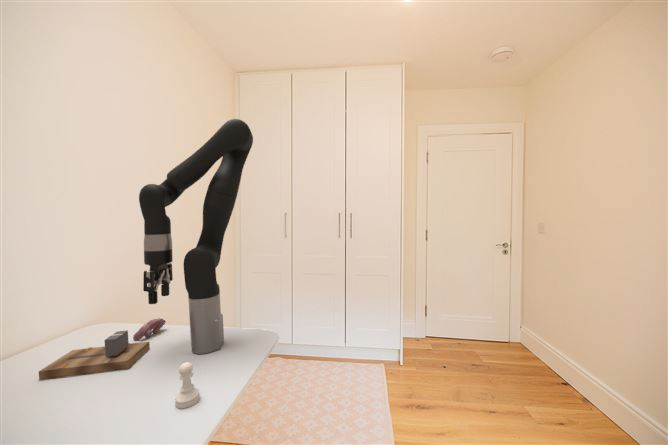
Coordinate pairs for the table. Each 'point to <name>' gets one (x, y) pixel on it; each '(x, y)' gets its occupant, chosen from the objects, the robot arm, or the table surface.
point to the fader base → (93, 361)
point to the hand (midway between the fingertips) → (159, 299)
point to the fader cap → (116, 343)
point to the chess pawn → (186, 388)
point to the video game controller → (149, 328)
